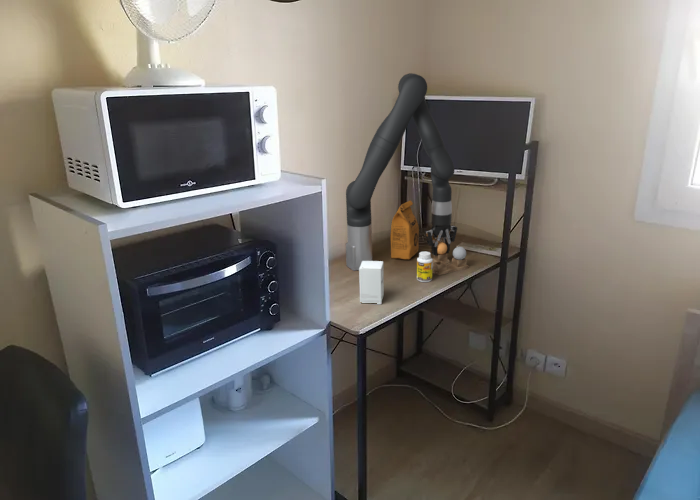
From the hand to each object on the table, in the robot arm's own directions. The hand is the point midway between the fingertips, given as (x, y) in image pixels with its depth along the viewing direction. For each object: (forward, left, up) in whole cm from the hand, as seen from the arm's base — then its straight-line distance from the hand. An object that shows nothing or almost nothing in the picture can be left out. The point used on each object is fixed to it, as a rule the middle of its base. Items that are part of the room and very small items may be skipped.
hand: (440, 253), depth 211 cm
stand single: (0, 0, -3) cm, 3 cm away
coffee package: (-8, +13, -4) cm, 16 cm away
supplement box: (-40, -17, -4) cm, 44 cm away
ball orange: (0, 0, +2) cm, 2 cm away
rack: (-2, -8, -3) cm, 9 cm away
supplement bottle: (-16, -12, -4) cm, 20 cm away
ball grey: (+2, -8, +2) cm, 9 cm away
